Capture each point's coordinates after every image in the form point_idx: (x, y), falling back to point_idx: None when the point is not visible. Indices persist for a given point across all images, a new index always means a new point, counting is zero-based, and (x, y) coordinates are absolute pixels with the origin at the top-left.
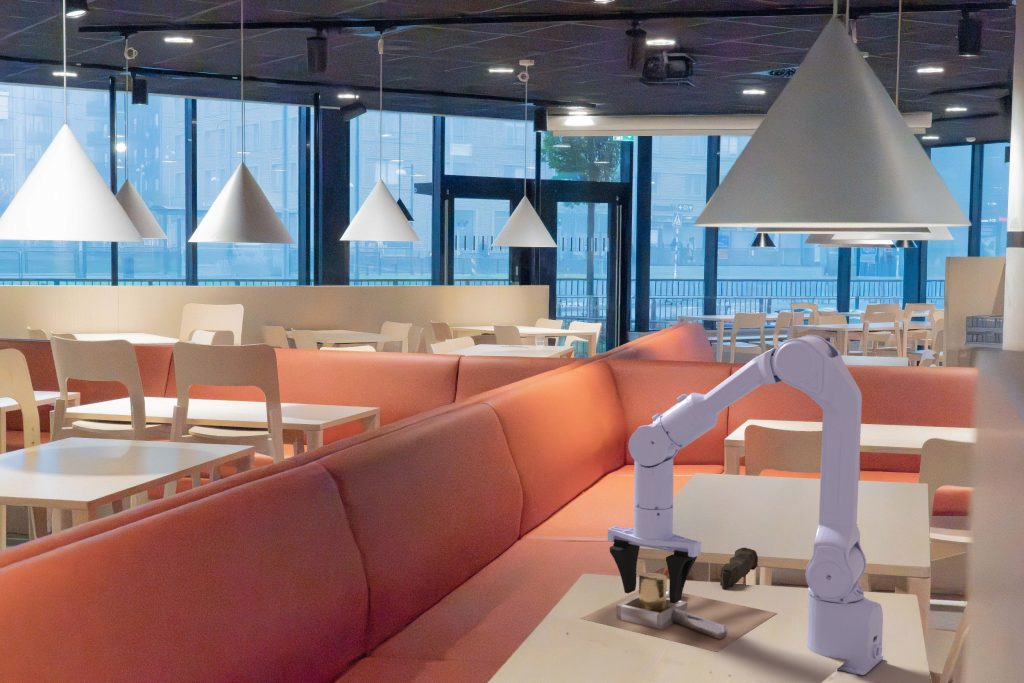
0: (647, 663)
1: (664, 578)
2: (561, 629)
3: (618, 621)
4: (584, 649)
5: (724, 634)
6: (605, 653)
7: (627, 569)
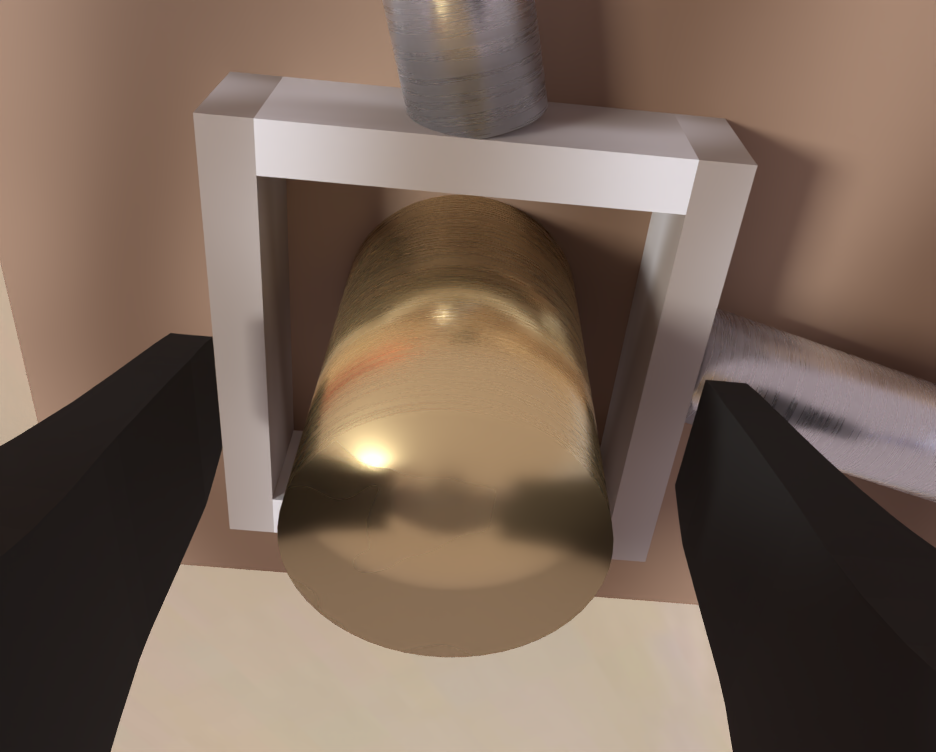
0: (665, 709)
1: (597, 548)
2: None
3: None
4: (319, 701)
5: None
6: (432, 698)
7: (126, 632)
